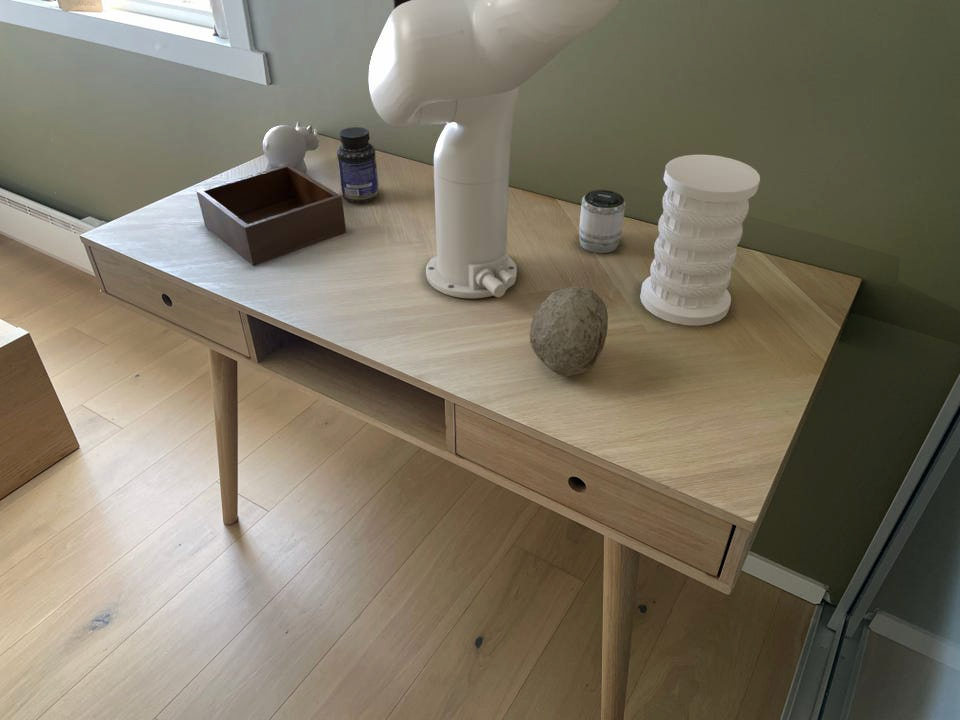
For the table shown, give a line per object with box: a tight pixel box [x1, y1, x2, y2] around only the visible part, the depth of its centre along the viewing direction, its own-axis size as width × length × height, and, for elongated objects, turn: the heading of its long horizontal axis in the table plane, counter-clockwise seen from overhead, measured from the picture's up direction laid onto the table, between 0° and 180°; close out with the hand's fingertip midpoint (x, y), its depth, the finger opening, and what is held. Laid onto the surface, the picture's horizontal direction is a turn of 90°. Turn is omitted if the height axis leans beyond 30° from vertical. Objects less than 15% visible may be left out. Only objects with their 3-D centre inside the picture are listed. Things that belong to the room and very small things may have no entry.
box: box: [195, 164, 347, 266], centre depth 108 cm, size 16×16×6 cm
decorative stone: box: [529, 285, 609, 377], centre depth 81 cm, size 10×8×10 cm
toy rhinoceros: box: [262, 121, 320, 174], centre depth 126 cm, size 7×12×8 cm, turn 148°
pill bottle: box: [336, 126, 380, 205], centre depth 116 cm, size 6×6×11 cm
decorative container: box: [639, 154, 761, 327], centre depth 90 cm, size 12×12×18 cm
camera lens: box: [578, 189, 627, 254], centre depth 105 cm, size 6×6×8 cm
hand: (421, 23), depth 98 cm, fingers open, 9 cm apart
